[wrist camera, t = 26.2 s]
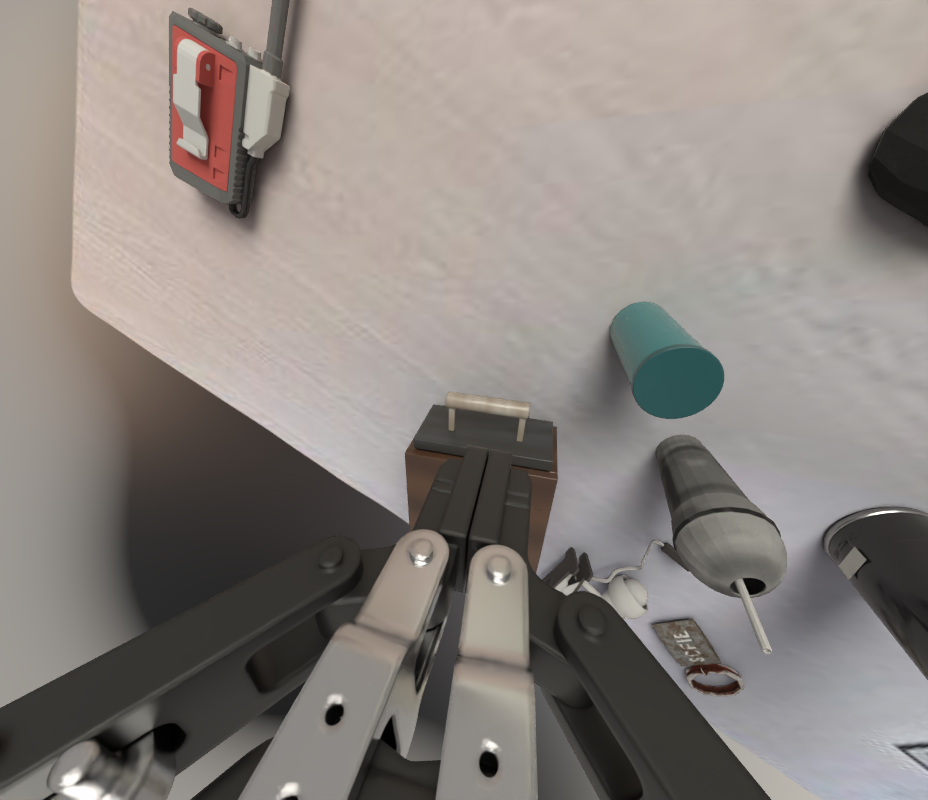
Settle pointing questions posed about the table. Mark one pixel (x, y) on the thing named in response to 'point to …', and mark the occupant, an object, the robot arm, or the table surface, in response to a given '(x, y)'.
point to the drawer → (487, 430)
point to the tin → (664, 362)
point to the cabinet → (543, 482)
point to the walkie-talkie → (223, 105)
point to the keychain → (697, 656)
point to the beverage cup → (719, 527)
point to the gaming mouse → (904, 161)
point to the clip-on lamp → (621, 590)
